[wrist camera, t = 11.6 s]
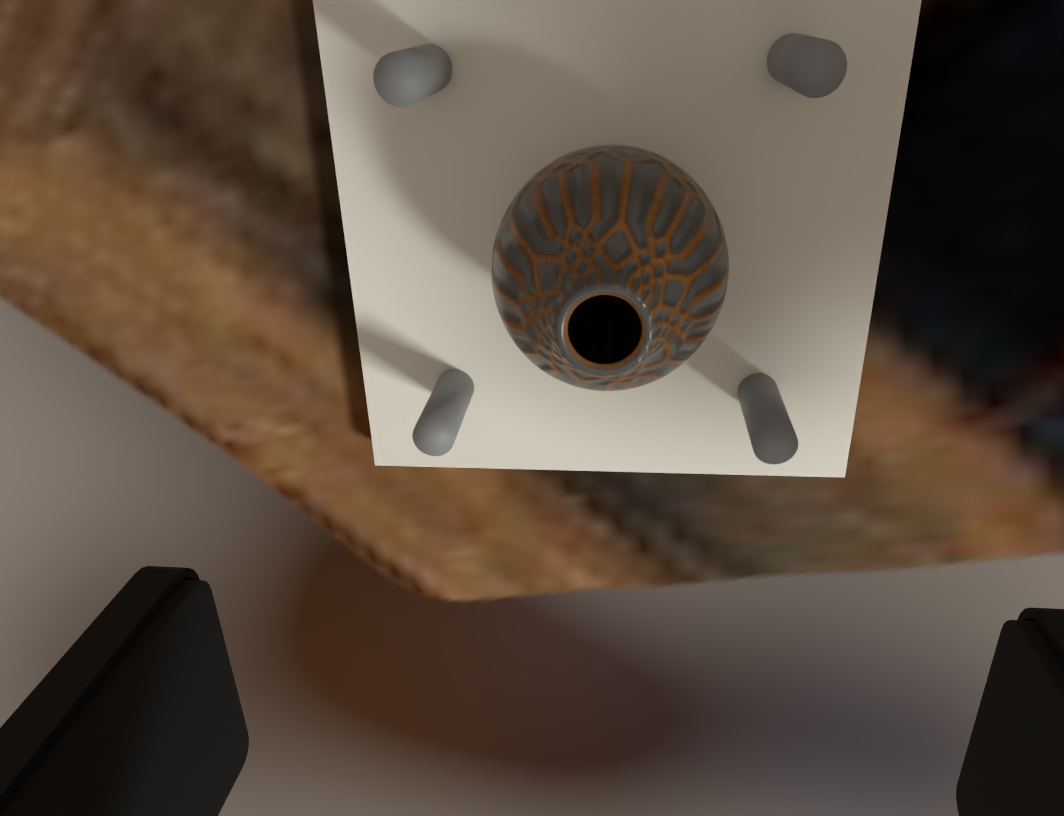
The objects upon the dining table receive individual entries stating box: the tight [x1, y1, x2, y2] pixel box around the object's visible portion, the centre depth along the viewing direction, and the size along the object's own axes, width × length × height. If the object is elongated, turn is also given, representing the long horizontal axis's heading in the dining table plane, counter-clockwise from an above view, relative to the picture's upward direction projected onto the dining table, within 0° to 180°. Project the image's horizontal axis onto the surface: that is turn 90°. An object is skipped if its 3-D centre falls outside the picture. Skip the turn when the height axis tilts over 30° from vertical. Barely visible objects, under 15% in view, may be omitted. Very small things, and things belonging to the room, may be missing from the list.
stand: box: [313, 0, 922, 477], centre depth 26 cm, size 18×18×6 cm
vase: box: [491, 145, 729, 391], centre depth 24 cm, size 7×7×9 cm
